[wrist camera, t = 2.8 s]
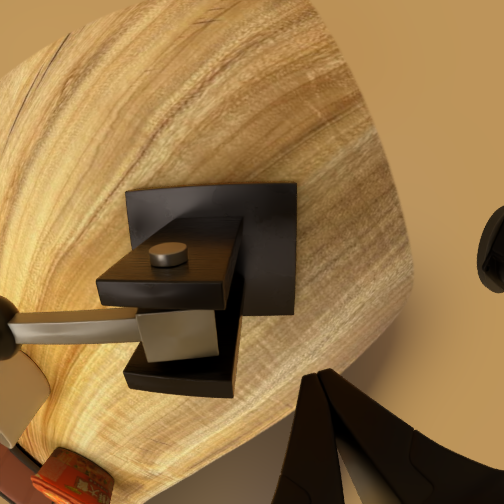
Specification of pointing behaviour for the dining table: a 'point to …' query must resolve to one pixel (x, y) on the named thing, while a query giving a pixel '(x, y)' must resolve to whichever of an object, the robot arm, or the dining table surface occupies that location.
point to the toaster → (19, 478)
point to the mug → (19, 396)
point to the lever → (113, 330)
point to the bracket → (205, 271)
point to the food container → (73, 480)
